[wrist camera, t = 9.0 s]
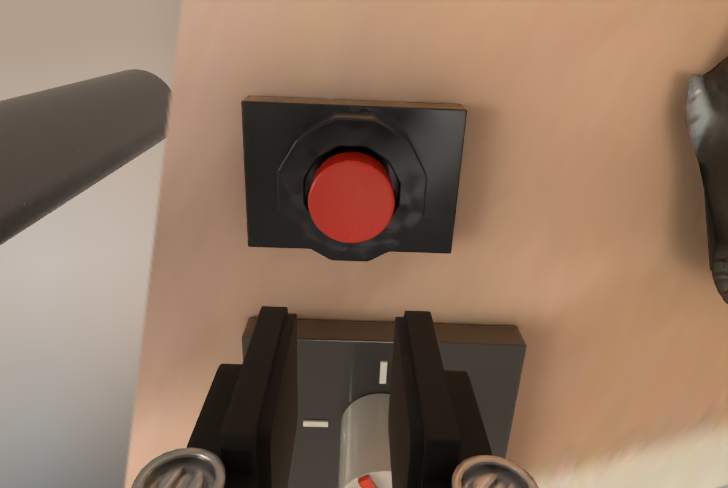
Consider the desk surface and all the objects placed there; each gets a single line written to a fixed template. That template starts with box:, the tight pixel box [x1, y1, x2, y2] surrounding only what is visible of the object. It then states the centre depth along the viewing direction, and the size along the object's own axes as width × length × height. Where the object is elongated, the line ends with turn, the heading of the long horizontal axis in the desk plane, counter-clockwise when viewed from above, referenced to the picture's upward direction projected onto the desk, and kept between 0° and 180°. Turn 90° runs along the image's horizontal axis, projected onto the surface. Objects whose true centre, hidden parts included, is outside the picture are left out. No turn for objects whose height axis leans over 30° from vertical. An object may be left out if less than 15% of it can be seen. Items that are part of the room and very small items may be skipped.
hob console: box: [242, 318, 526, 488], centre depth 31 cm, size 15×11×2 cm
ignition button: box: [308, 151, 395, 243], centre depth 23 cm, size 4×4×2 cm
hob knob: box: [338, 393, 392, 488], centre depth 28 cm, size 4×4×6 cm
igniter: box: [241, 96, 467, 261], centre depth 25 cm, size 10×7×4 cm
